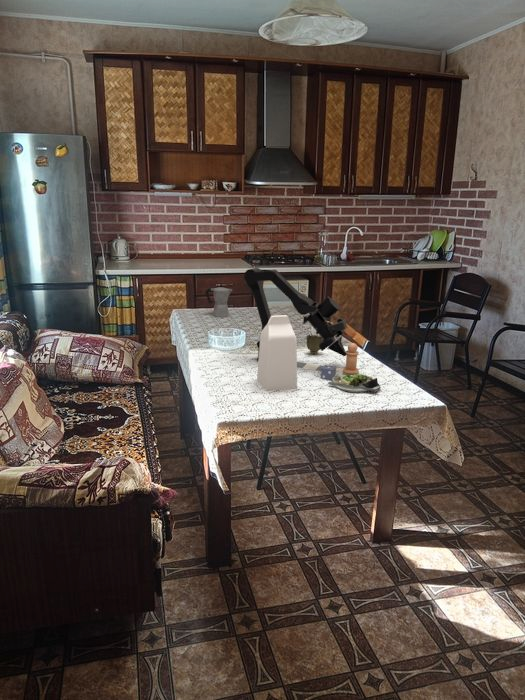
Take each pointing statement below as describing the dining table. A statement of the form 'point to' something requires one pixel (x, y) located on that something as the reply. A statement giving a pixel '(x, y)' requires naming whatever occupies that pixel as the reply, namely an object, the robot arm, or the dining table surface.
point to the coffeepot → (219, 300)
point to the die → (328, 372)
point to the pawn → (351, 360)
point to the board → (317, 367)
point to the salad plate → (355, 383)
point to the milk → (277, 355)
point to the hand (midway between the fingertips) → (345, 355)
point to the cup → (313, 343)
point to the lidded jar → (315, 330)
